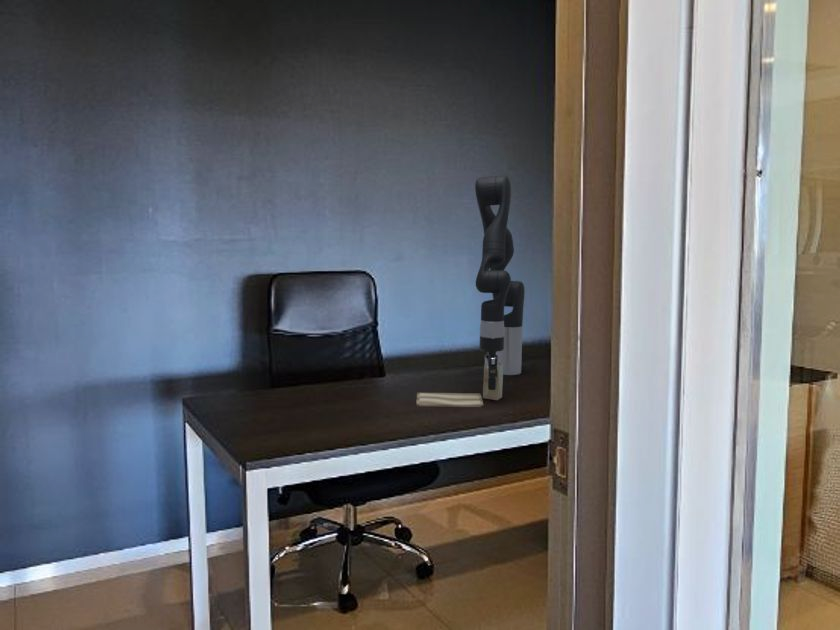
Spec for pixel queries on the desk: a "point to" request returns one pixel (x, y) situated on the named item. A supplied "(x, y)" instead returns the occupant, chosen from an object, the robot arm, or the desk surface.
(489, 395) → the box
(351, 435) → the desk surface
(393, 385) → the desk surface
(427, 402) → the mat
